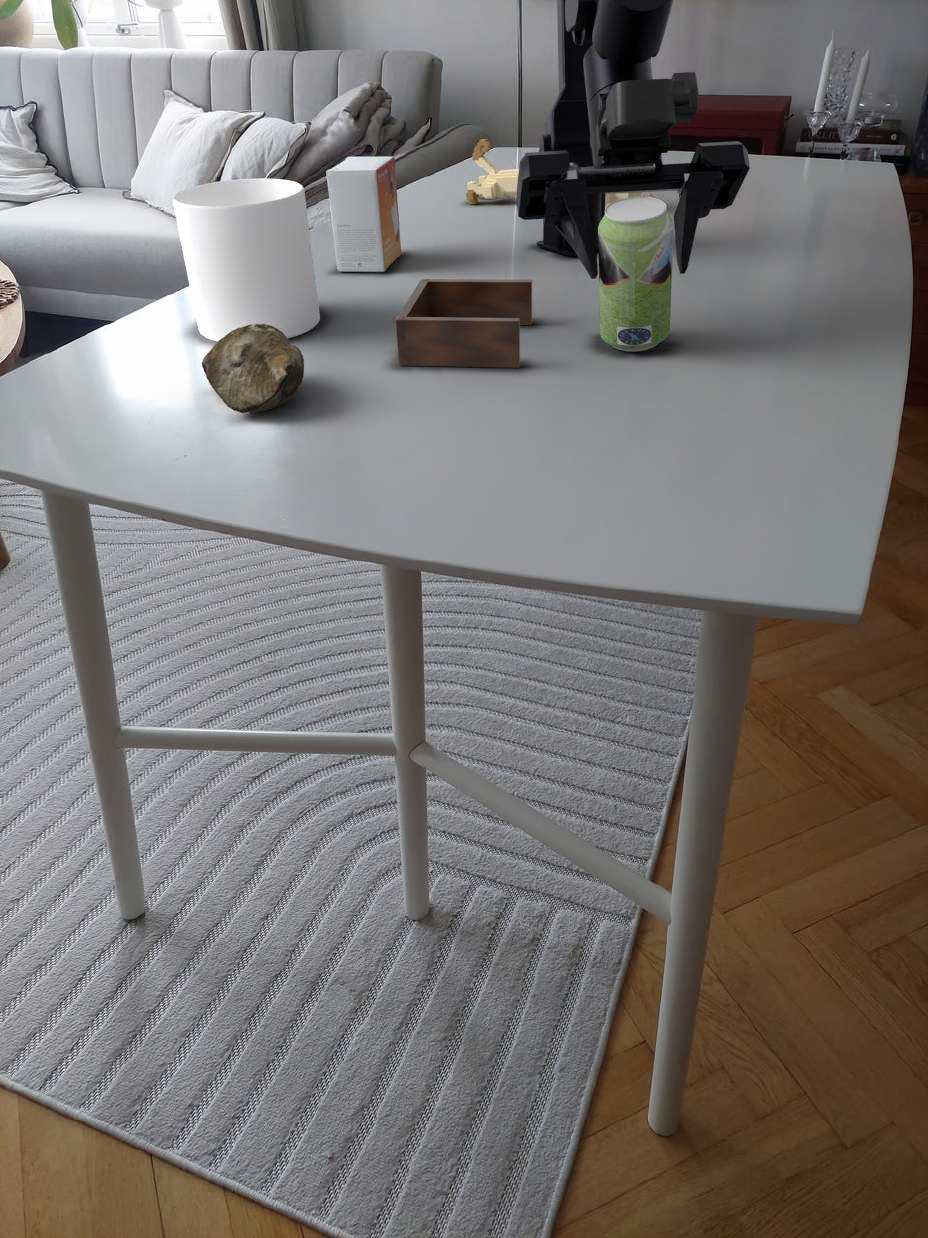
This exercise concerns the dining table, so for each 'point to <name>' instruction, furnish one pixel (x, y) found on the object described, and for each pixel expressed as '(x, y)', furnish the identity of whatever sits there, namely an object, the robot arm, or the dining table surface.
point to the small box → (364, 213)
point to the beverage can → (635, 273)
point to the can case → (464, 323)
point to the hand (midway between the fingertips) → (639, 273)
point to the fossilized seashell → (254, 368)
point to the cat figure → (508, 180)
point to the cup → (248, 255)
